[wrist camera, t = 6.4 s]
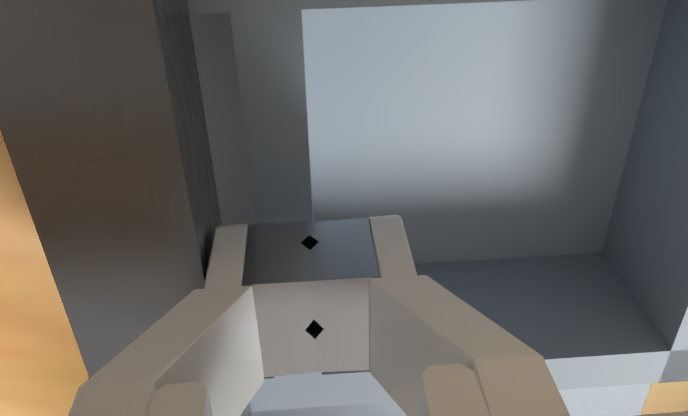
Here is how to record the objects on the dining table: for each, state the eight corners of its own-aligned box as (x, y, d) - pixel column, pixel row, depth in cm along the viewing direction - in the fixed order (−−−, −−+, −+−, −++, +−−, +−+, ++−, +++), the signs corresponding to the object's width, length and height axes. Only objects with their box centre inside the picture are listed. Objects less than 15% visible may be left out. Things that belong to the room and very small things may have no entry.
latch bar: (155, -397, 6) (80, -510, 4) (268, 436, 13) (264, 556, 11) (-107, -394, 6) (-330, -511, 4) (150, 445, 13) (122, 567, 11)
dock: (840, -258, 11) (1134, -298, 7) (607, 431, 22) (675, 564, 18) (13, -242, 11) (-153, -277, 7) (192, 462, 21) (169, 608, 17)
